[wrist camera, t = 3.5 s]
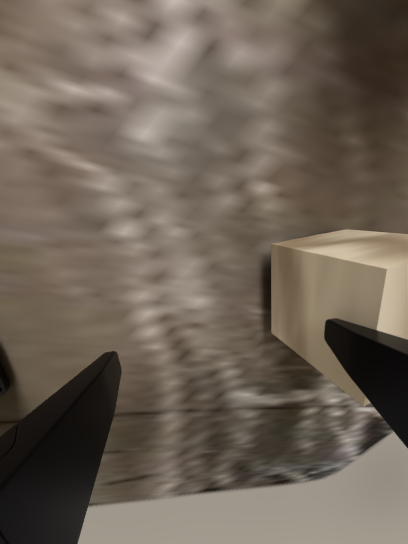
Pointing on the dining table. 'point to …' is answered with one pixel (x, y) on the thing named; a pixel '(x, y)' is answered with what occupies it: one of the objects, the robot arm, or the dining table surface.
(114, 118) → the dining table surface
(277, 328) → the maple block
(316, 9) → the dining table surface
